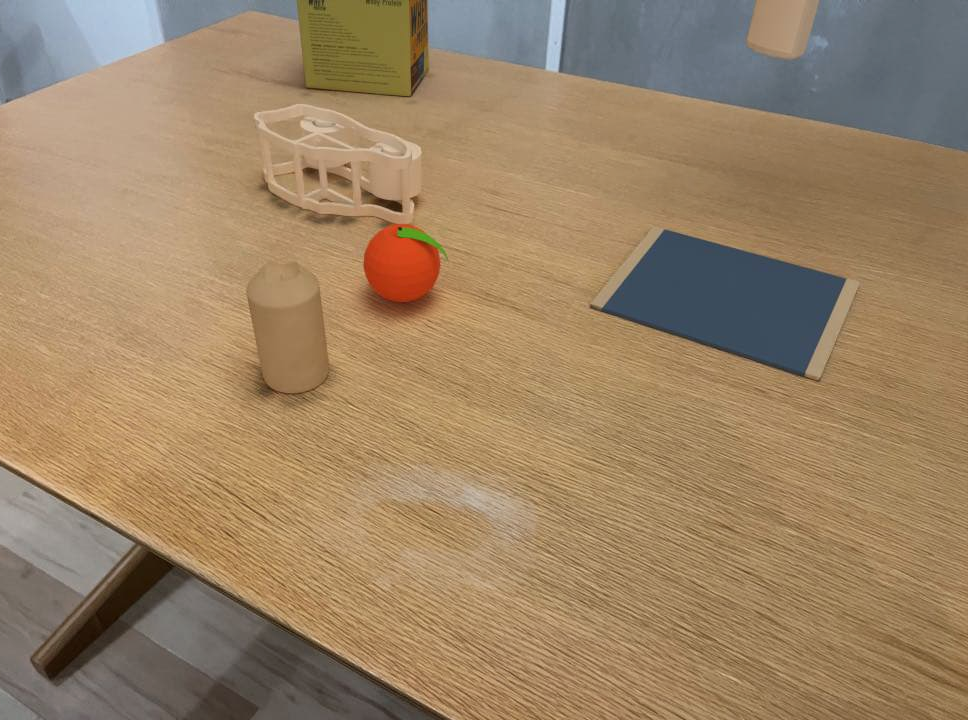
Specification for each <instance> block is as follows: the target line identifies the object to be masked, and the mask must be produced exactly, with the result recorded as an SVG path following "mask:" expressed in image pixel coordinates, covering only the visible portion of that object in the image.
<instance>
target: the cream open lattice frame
mask: <svg viewBox="0 0 968 720" xmlns="http://www.w3.org/2000/svg"><path fill="white" fill-rule="evenodd" d="M300 116H304V117H303V118H302V119H301V120H300V122H299V128H300V129H299V130H300V136H301V137H300V138H298V139H295V140H292V139H290V138H287V137H284V136H282V135H280V134H278V133H277V132H275V131H272V130H271V129H269V128H268V127H267V125H266V124H270V123H277V122H283V121H287V120H291V119H294V118H296V117H300ZM253 119H254V125H255V129H256V133H257V139H258V146H259V152H260V158H261V159H260V160H261V164H262V172H263V177H264V178H263V179H264V182H265V183H267V189H268V191H269V192H270V193H272V194H274V195H275V196H277V197H279V198H280V199H282V200H284V201H286V202H287V203H290V204H291V205H293V206H296V207H299V208H301V209H302V210H308V211H309V210H310V211H312V212H314V213H317V214H319V215H335V216H336V215H337V216H343V217H356V218H357V217H375V218H379V219H381V220H383V221H386V222H388V223H391V224H393V225H395V224H408V225H411V224H412V223H413V222H414V218H415V203H414V201H413V200H412V199H411V198H413V197H416V196H417V195H419V194H420V193H421V191H422V190H423V163H422V156H423V155H422V153H423V152H422V148H421V147H420V145H418V144H416V143H415V142H411V141H408V140H405V139H403V138H402V137H400V136H397V135H395V134H393V133H390V132H387V131H384V130H380V129H379V130H378V129H375V128H371V127H368V126H366V125H365V124H363V123H361V122H359V121H357V119H354V118H352V117H350V116H348V115H346V114H344V113H341V112H339V111H336V110H333V109H328V108H323V107H318V106H314V105H310V104H306V103H296V104H295V103H294V104H292V105H290V106H287V107H282V108H277V109H273V110H263V111H257V112H255V113H254V115H253ZM361 138H362V139H365V140H368V141H369V142H373V143H375V144H373V145H371V146H370V147H369V148H368V147H367V148H365V147H361ZM270 144H271V145H273V146H275V147H277V148H279V149H281V150H283V151H286V152H288V153H291V155H292V160H290V161H287V162H281V163H274V164H273V159H272V151H271V145H270ZM301 156H302V157H301ZM363 162H367V164H368V165H367V166H368V177H369V178H368V179H367V177H365V176H364V175H363V164H362V163H363ZM348 163H350V168H349V167H348V166H345V165H346V164H348ZM307 168H310V169H314V170H318V176H319V186H320V187H318V188H316V189H313V190H312V191H309V192H308V193H306V190H305V189H306V188H305V182H304V181H305V180H304V173H303V172H304V171H303V170H304V169H307ZM291 173H294V178H295V185H296V193H295V192H293V191H291V190H289V189H288V188H286V187H284V186H282V185H280V184H278V183H277V181H276V179H275V176H283V175H287V174H291ZM328 173H331V174H334V175H337V176H340V177H343V178H344V179H347V180H349V181H351V185H352V197H353V199H352V198H349V197H347V196H345V195H343V194H341V193H340V192H338V191H335V190H333V189H331V188H329V183H328ZM361 188H362V189H361ZM361 190H364V191H366V192H368V193H370V194H372V195H373V196H375V197H377V198H378V199H383V200H387V201H388V200H389V201H394V202H397V204H400V205H401V206H402V212H399V211H394V210H391V209H389V208H386V207H384V206H381V205H377V204H374V203H373V204H372V203H364V204H362V203H363V202H362V191H361ZM323 200H328V201H329V202H328V201H327V202H322V201H323Z"/></svg>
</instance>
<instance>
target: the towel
mask: <svg viewBox="0 0 968 720" xmlns="http://www.w3.org/2000/svg"><path fill="white" fill-rule="evenodd" d="M860 285H861V281H859V280H855V279H851V278H847V277H843V276H839V275H835V274H832V273H828V272H824V271H820V270H817V269H813V268H810V267H806V266H803V265H799V264H794V263H792V262H788V261H783V260H780V259H776V258H773V257H769V256H766V255H761V254H758V253H754V252H751V251H747V250H743V249H739V248H736V247H732V246H728V245H725V244H721V243H717V242H714V241H710V240H706V239H703V238H699V237H695V236H692V235H688V234H684V233H680V232H677V231H672V230H669V229H665V228H663V227H660V226H656V225H653V226H652V227H651V229H650V230H648V232H647V233H646V235H645V236H644V237H643V238H642V239H641V241H640V242H639V243H638V245H637V246H636V247H635V248H634V249H633V251H632V252H631V253H630V254H629V255H628V256H627V258H626V259H625V260H624V261H623V263H622V264H621V265H620V266H619V268H618V269H617V270H616V271H615V272H614V274H613V275H612V276H611V277H610V278H609V280H608V281H607V282H606V283H605V285H604V286H603V287H602V288H601V290H600V291H599V292H598V293H597V295H596V296H595V297H594V298H593V299H592V301H591V302H590V303H589V308H591V309H595V310H597V311H600V312H603V313H606V314H610V315H613V316H616V317H619V318H622V319H625V320H628V321H631V322H635V323H637V324H641V325H643V326H646V327H650V328H653V329H656V330H659V331H662V332H666V333H669V334H672V335H674V336H678V337H681V338H683V339H686V340H690V341H693V342H696V343H699V344H702V345H705V346H709V347H711V348H714V349H718V350H721V351H724V352H727V353H730V354H733V355H737V356H740V357H743V358H746V359H749V360H753V361H755V362H758V363H760V364H761V363H762V364H765V365H767V366H771V367H774V368H777V369H780V370H782V371H786V372H789V373H792V374H796V375H799V376H801V377H805V378H807V379H809V380H810V379H811V380H814V381H817V382H820V380H821V378H822V375H823V373H824V371H825V368H826V366H827V363H828V361H829V359H830V356H831V354H832V351H833V349H834V347H835V344H836V342H837V340H838V337H839V335H840V332H841V330H842V328H843V325H844V322H845V320H846V318H847V316H848V314H849V311H850V308H851V306H852V303H853V301H854V299H855V297H856V294H857V292H858V290H859V287H860Z"/></svg>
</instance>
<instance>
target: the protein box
mask: <svg viewBox="0 0 968 720" xmlns="http://www.w3.org/2000/svg"><path fill="white" fill-rule="evenodd" d="M428 2H429V1H428V0H296V8H297V17H298V24H299V35H300V45H301V55H302V64H303V74H304V85H305V88H308V89H319V90H330V91H331V90H332V91H341V92H343V91H344V92H353V93H354V92H355V93H364V94H365V93H367V94H375V95H378V94H379V95H388V96H399V97H400V96H402V97H412V96H413V94H414V92H415V90H416V89H417V88H418V86H420V83H421V82H422V80H423V79H424V77H425V76H426V74H427V72H428V71H429V70H430V58H429V57H430V56H429V11H428V10H429V7H428V6H429V5H428V4H429V3H428Z"/></svg>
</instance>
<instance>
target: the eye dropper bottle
mask: <svg viewBox="0 0 968 720" xmlns="http://www.w3.org/2000/svg"><path fill="white" fill-rule="evenodd" d="M754 2H755V3H754V7H753V11H752V15H751V19H750V24H749V28H748V32H747V37H746V43H745V44H746V46H747V47H748V48H749V49H750V50H752V51H754V52H756V53H758V54H762V55H764V56H768V57H771V58H776V59H781V60H794V59H796V58H798V57H801V56H803V55H804V53H806V49H807V46H808V42H809V39H810V36H811V32H812V28H813V26H814V21H815V17H816V14H817V10H818V7H819V4H820V0H755V1H754Z"/></svg>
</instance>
